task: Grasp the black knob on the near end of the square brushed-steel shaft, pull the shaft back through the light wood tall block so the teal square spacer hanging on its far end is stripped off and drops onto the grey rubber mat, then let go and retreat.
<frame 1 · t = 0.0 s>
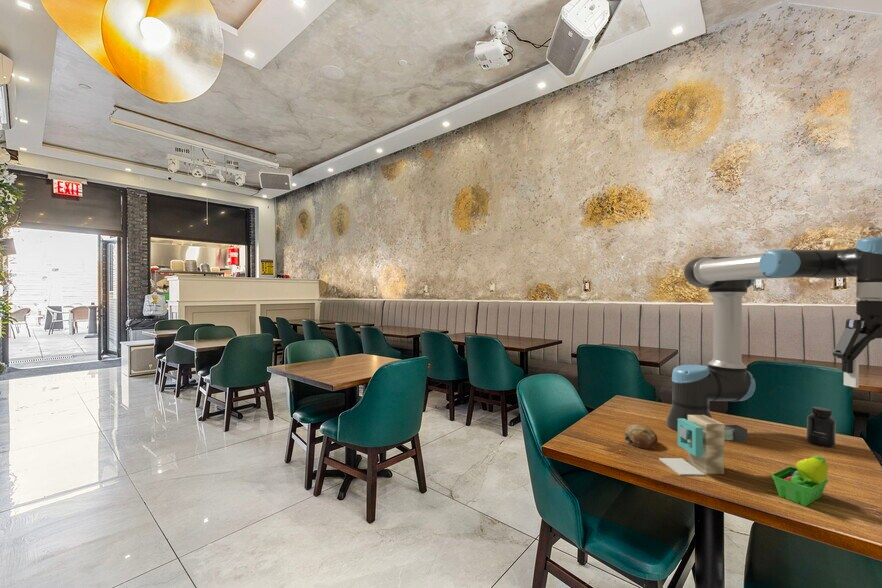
hand: (878, 386, 91), 28 cm above the table, fingers open, 13 cm apart
shaft: (712, 433, 108), point 10 cm above the table, slide at 0.0 cm, touching spacer
brown rounded lump: (641, 443, 126), on the table
supplement bottle: (820, 444, 126), on the table
light wood tall block: (704, 467, 108), on the table
spacer: (689, 450, 108), point 5 cm above the table, touching shaft
mat: (680, 467, 108), on the table
fruit basket: (802, 498, 92), on the table
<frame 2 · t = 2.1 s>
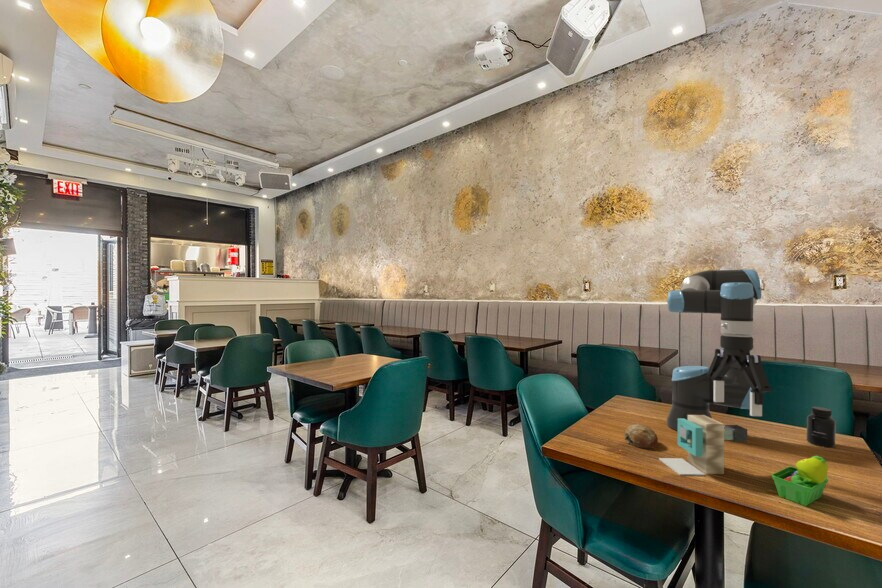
hand: (736, 408, 108), 17 cm above the table, fingers open, 13 cm apart
nothing on the table moved.
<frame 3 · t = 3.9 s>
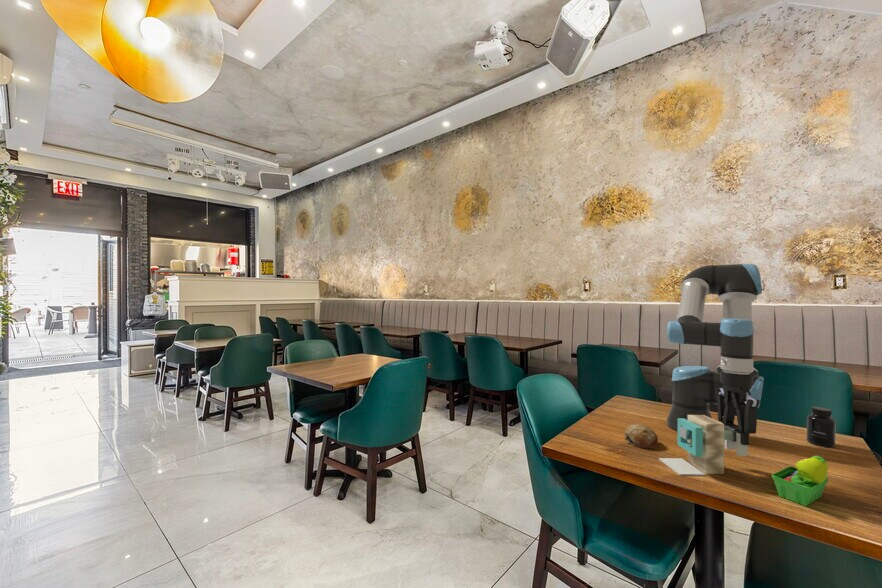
hand: (735, 451, 108), 5 cm above the table, fingers closed on shaft, 4 cm apart
shaft: (712, 433, 108), point 10 cm above the table, slide at 0.0 cm, touching gripper, spacer
everything else where it was.
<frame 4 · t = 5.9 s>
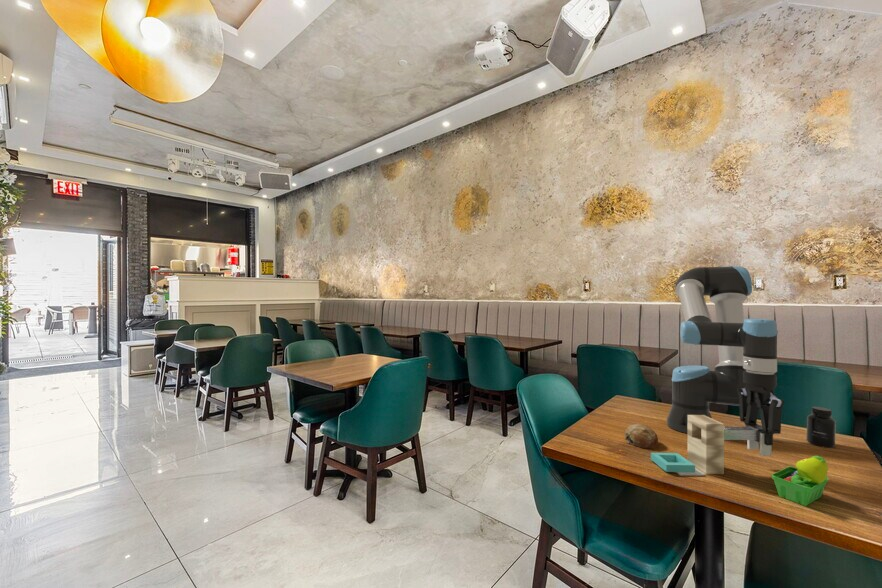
hand: (759, 451, 108), 5 cm above the table, fingers closed on shaft, 4 cm apart
shaft: (735, 433, 108), point 10 cm above the table, slide at 6.7 cm, touching gripper
spacer: (685, 462, 108), point 1 cm above the table, tilted 90°, touching mat
everything else where it was.
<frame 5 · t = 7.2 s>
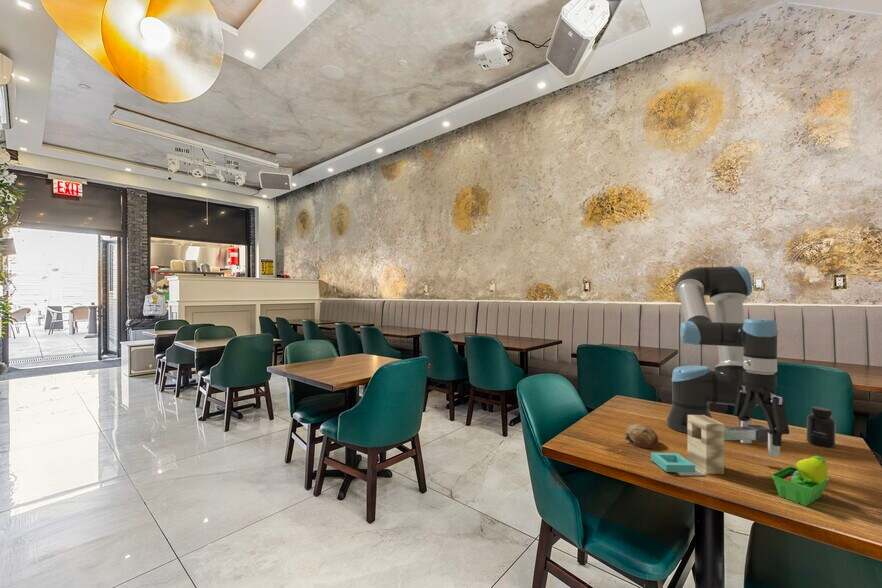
hand: (759, 449, 108), 5 cm above the table, fingers open, 9 cm apart
shaft: (735, 433, 108), point 10 cm above the table, slide at 6.7 cm
everything else where it was.
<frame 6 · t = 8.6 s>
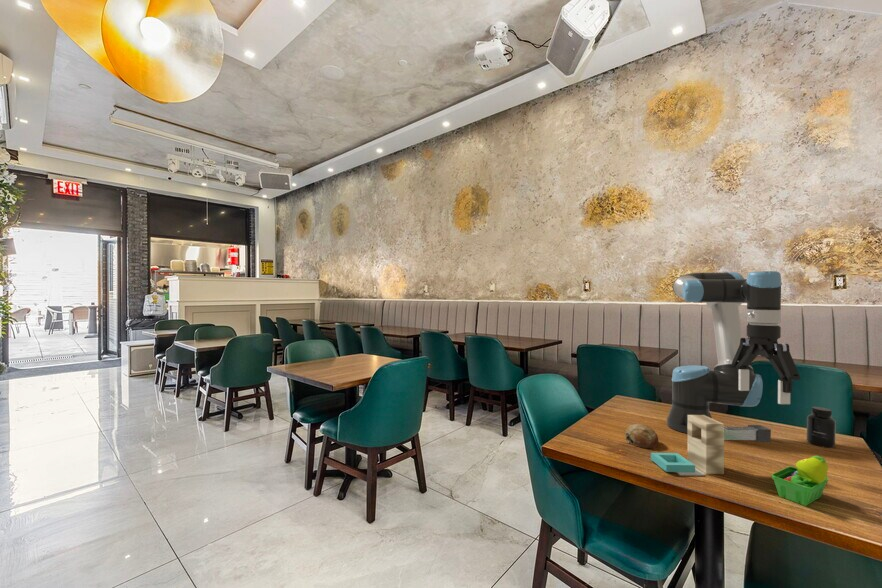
hand: (762, 396, 109), 21 cm above the table, fingers open, 13 cm apart
nothing on the table moved.
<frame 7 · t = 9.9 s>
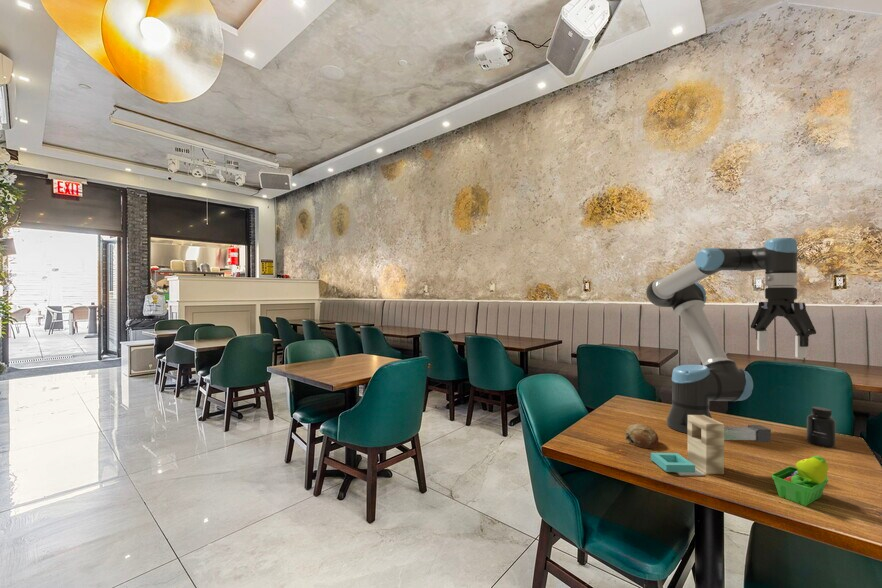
hand: (780, 353, 118), 32 cm above the table, fingers open, 13 cm apart
nothing on the table moved.
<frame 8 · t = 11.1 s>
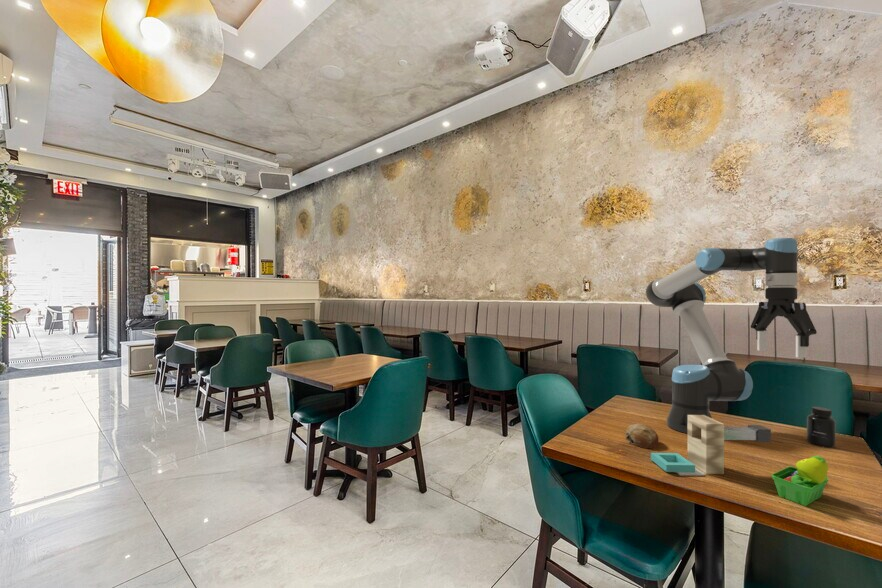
hand: (780, 353, 118), 32 cm above the table, fingers open, 13 cm apart
nothing on the table moved.
at the end: spacer inside the target area (3.8 cm from its centre), point 1.4 cm above the table; shaft slide at 6.7 cm; the gripper is holding nothing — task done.
